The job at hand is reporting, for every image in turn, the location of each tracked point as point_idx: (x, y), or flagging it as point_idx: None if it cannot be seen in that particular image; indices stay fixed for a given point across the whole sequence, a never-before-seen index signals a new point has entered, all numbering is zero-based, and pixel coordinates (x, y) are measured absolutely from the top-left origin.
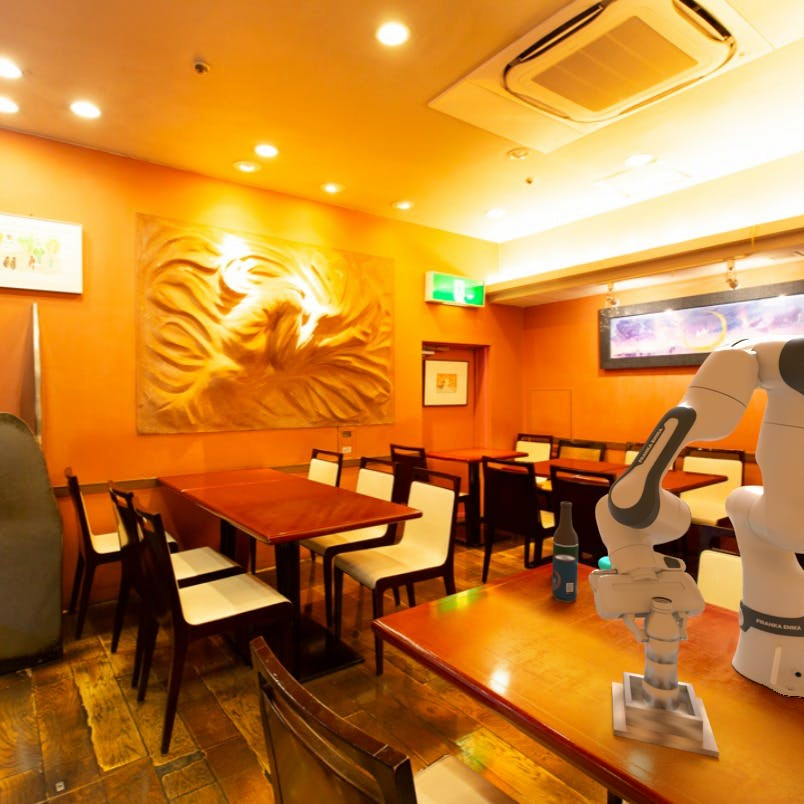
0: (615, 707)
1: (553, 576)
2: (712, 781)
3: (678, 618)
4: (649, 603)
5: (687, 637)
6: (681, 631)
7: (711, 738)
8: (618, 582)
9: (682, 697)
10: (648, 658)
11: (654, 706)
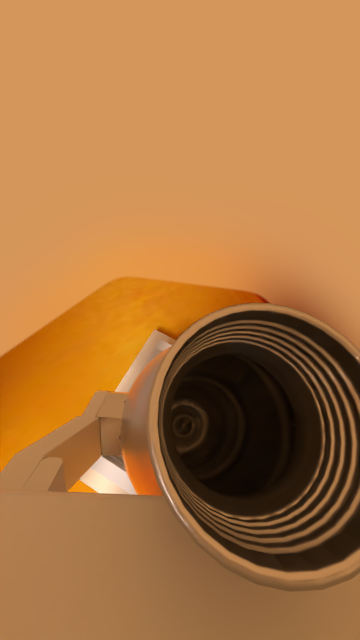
0: None
1: None
2: (190, 302)
3: (64, 481)
4: None
5: (104, 391)
6: (116, 404)
7: (143, 354)
8: None
9: (115, 457)
10: (239, 417)
11: (210, 401)
